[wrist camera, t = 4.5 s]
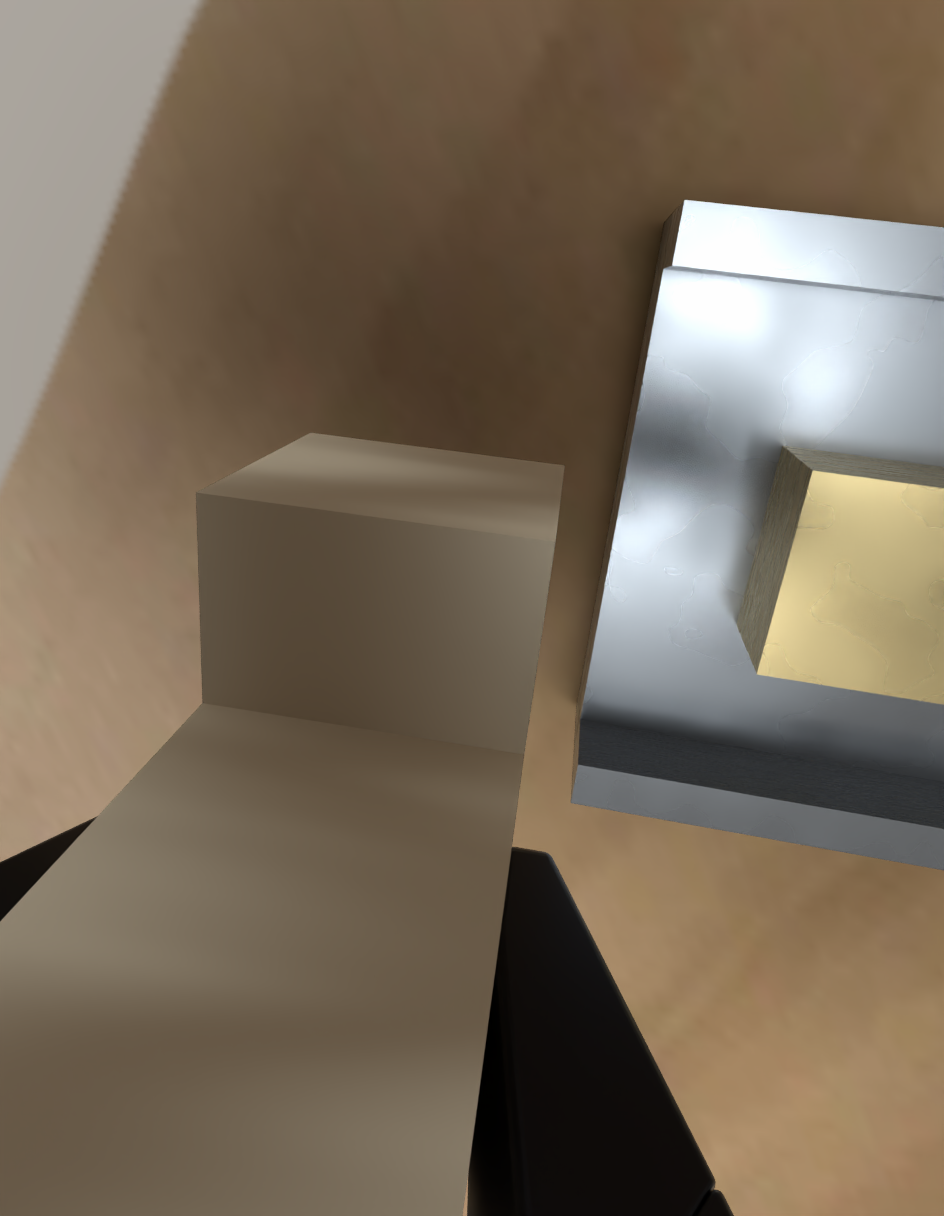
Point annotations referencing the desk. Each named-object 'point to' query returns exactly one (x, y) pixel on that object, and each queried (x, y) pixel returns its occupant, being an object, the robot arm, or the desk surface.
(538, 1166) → the robot arm
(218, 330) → the desk surface
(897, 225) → the slot rail
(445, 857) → the pale step bench
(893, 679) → the chip
